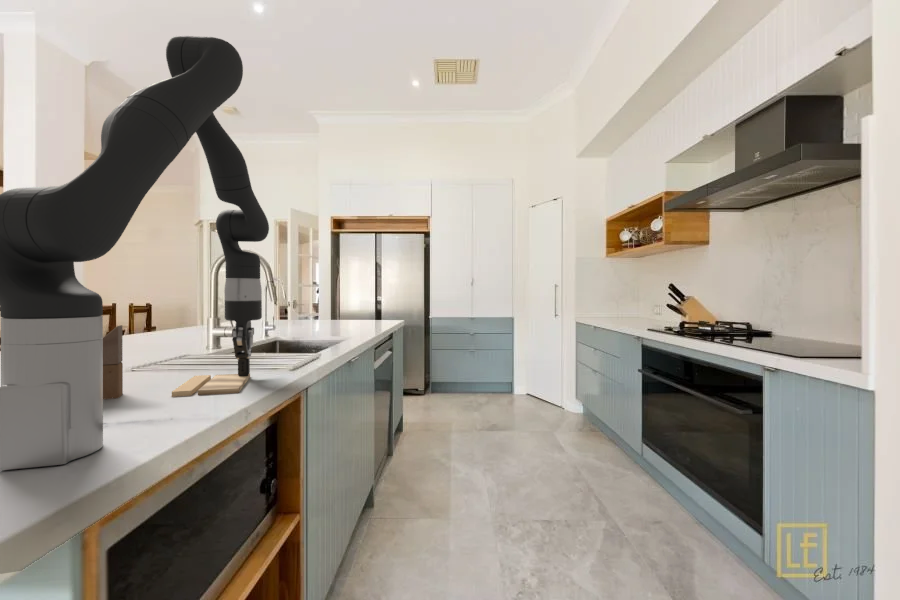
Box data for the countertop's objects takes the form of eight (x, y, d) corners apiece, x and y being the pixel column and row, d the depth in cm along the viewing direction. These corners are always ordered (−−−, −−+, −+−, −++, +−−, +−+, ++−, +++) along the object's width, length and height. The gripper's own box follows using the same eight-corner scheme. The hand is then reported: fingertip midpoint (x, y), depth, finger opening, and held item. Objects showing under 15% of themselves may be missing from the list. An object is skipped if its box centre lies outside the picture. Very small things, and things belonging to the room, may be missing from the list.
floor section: (239, 397, 81) (239, 388, 81) (170, 401, 78) (170, 392, 78) (251, 380, 97) (251, 372, 97) (195, 383, 94) (195, 375, 94)
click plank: (238, 395, 82) (238, 388, 82) (197, 397, 79) (197, 390, 79) (250, 379, 97) (250, 373, 97) (216, 380, 95) (216, 374, 95)
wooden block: (118, 402, 77) (118, 305, 77) (40, 410, 72) (39, 305, 72) (123, 398, 80) (122, 304, 80) (48, 404, 75) (48, 305, 75)
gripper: (257, 299, 89) (258, 380, 89) (264, 298, 101) (265, 369, 102) (218, 299, 87) (219, 382, 87) (230, 298, 99) (230, 370, 99)
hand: (243, 375), depth 94 cm, fingers closed
